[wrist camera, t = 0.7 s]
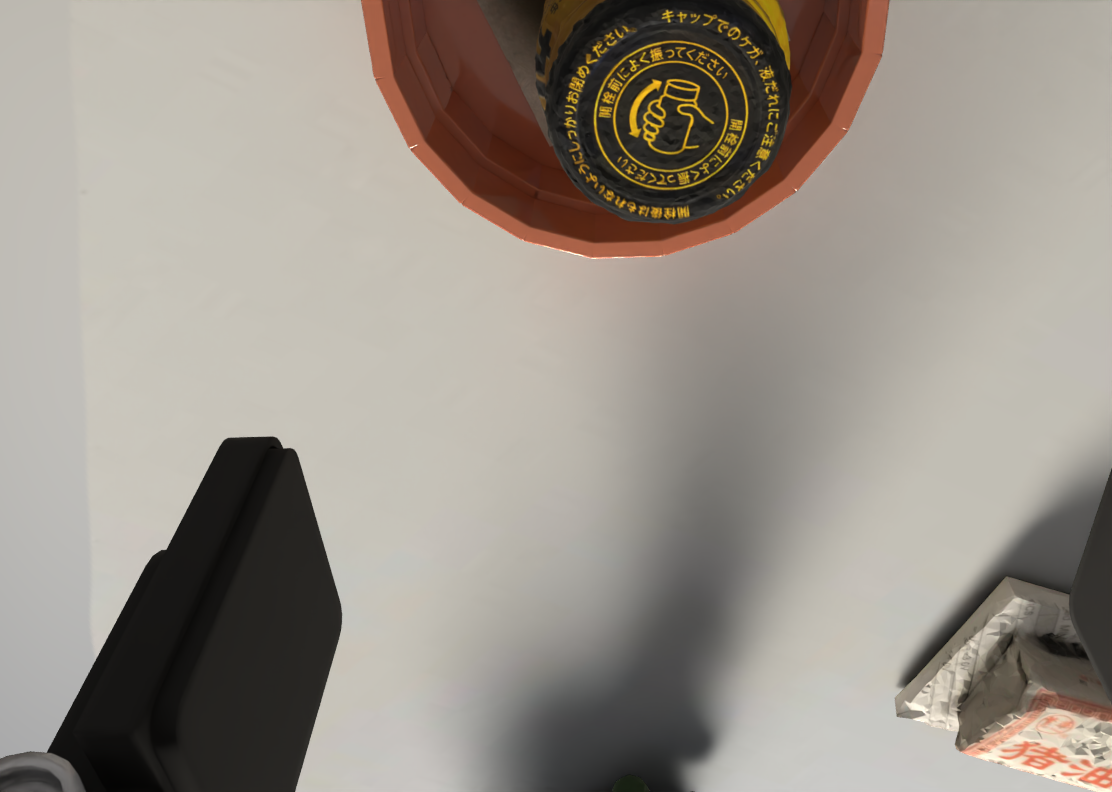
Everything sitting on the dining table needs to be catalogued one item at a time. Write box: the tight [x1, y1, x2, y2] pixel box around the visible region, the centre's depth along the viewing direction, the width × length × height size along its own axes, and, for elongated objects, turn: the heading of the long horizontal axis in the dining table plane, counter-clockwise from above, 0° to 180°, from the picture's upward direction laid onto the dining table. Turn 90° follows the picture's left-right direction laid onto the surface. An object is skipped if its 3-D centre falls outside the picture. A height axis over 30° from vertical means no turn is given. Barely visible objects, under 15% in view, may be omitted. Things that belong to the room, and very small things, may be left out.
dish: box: [361, 0, 890, 259], centre depth 29 cm, size 14×14×4 cm
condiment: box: [477, 0, 792, 224], centre depth 26 cm, size 7×8×12 cm
